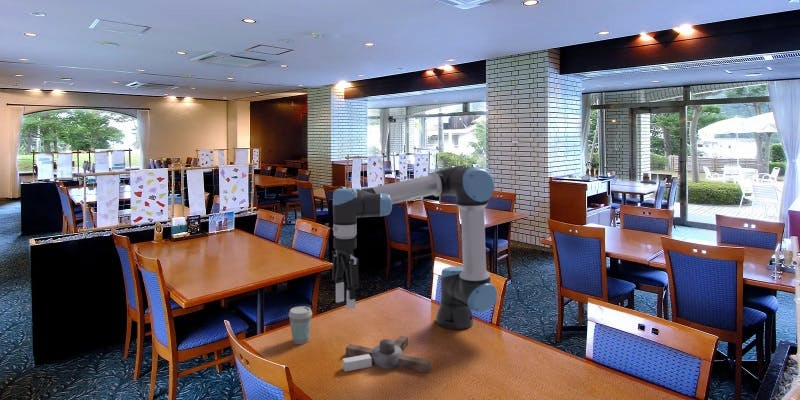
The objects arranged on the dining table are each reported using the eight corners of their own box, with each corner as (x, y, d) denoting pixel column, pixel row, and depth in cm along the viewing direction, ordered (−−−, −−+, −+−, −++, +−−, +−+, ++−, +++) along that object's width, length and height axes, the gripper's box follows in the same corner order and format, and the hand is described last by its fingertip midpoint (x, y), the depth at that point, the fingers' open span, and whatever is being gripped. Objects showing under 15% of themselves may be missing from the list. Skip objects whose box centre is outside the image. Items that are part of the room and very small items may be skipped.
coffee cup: (307, 347, 162) (306, 315, 161) (285, 344, 164) (284, 313, 162) (316, 337, 170) (315, 306, 169) (295, 335, 172) (294, 304, 171)
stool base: (405, 342, 166) (405, 324, 166) (433, 372, 145) (434, 351, 144) (344, 353, 158) (344, 334, 157) (364, 386, 136) (364, 364, 135)
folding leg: (368, 362, 150) (368, 354, 150) (371, 366, 148) (371, 357, 147) (342, 367, 147) (342, 358, 147) (345, 371, 144) (344, 362, 144)
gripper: (321, 232, 152) (321, 298, 154) (349, 243, 136) (349, 316, 138) (340, 230, 156) (341, 294, 159) (370, 240, 140) (370, 311, 143)
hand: (345, 304), depth 149 cm, fingers open, 7 cm apart
